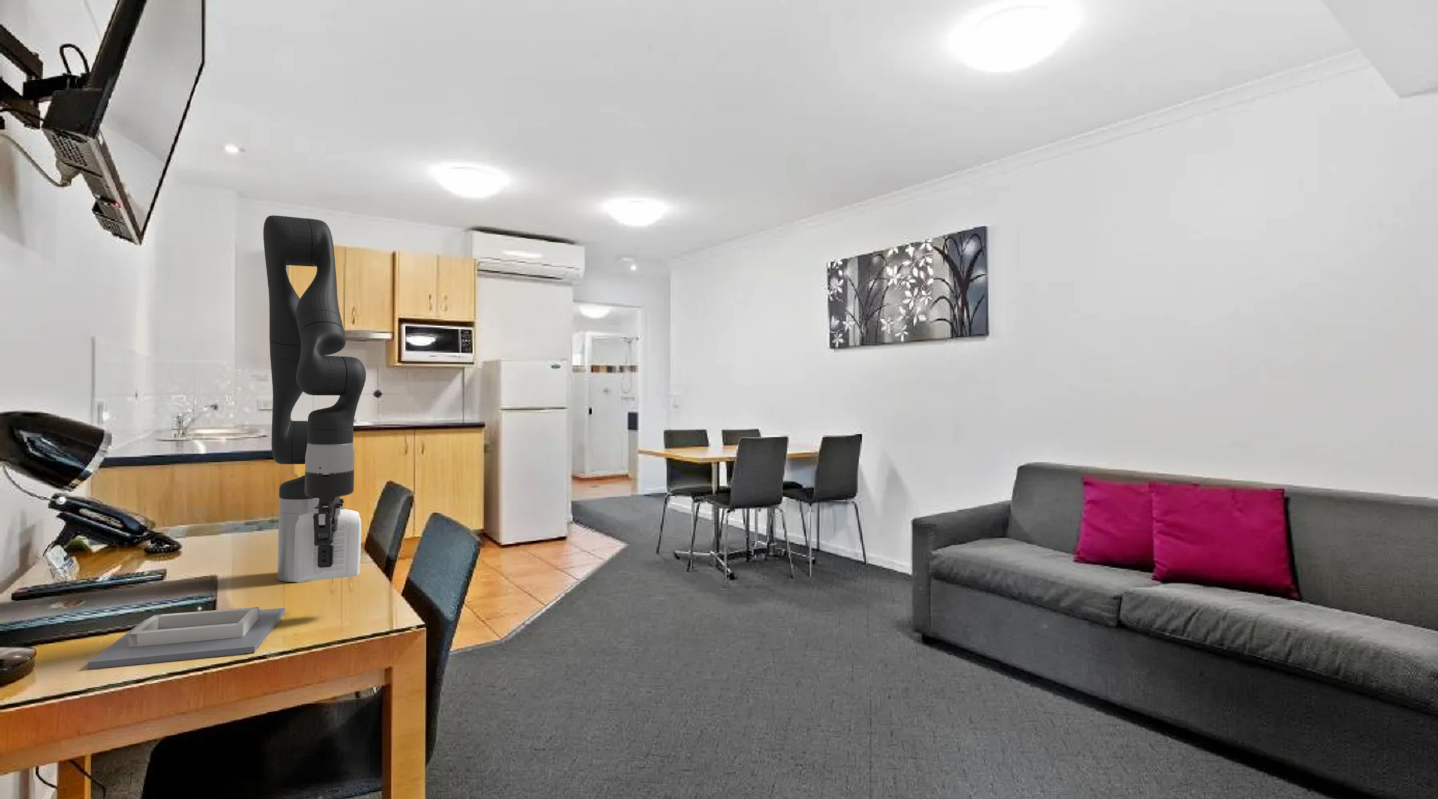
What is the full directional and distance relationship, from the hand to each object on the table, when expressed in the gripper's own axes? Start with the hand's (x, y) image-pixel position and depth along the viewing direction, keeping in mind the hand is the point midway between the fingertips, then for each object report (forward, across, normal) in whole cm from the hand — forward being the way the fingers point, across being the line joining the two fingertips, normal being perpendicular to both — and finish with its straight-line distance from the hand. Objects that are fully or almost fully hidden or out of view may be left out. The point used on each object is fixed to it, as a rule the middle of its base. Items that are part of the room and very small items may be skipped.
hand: (328, 562), depth 116 cm
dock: (+10, +6, -17) cm, 21 cm away
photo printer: (+3, 0, 0) cm, 3 cm away
